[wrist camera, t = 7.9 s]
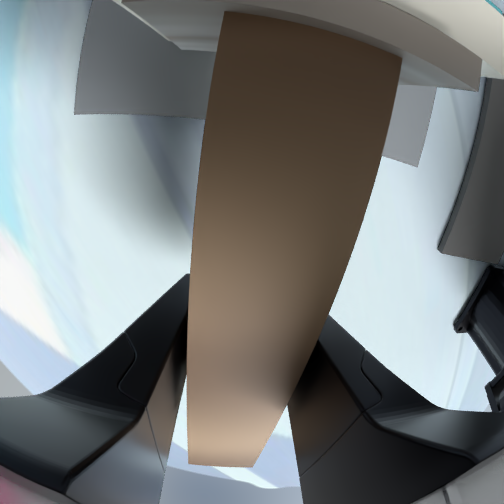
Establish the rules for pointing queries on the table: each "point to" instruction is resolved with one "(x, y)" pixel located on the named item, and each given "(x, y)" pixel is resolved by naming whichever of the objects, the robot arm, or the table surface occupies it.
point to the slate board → (193, 80)
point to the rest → (482, 188)
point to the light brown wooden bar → (284, 187)
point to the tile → (453, 26)
